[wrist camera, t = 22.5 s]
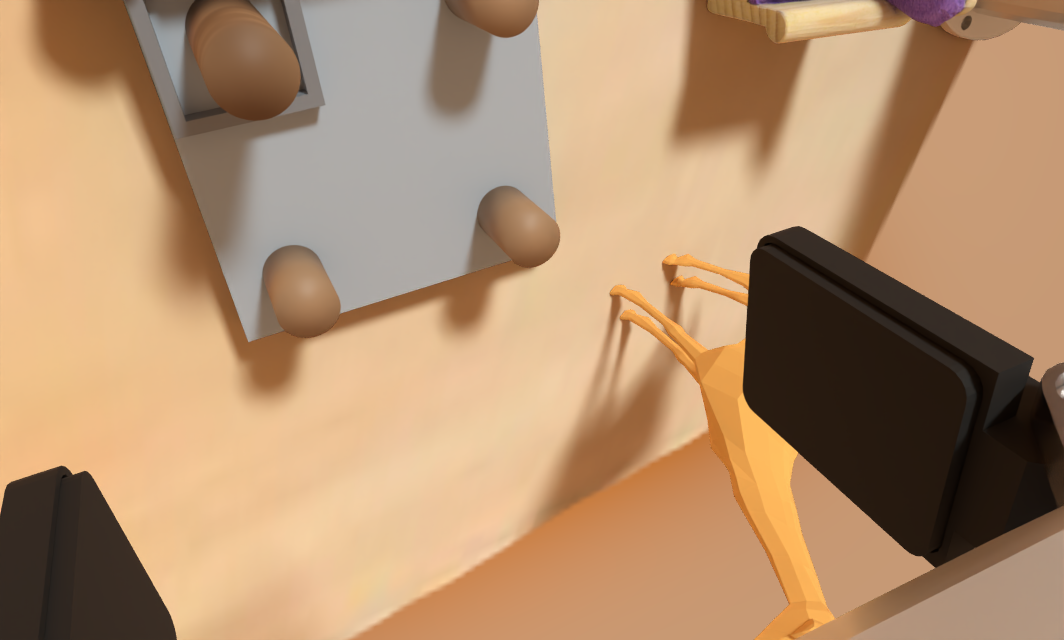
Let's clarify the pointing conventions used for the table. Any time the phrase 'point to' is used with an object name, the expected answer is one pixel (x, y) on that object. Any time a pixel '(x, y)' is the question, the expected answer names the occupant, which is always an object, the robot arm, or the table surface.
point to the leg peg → (242, 58)
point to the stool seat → (366, 153)
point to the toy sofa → (836, 15)
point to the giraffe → (746, 453)
